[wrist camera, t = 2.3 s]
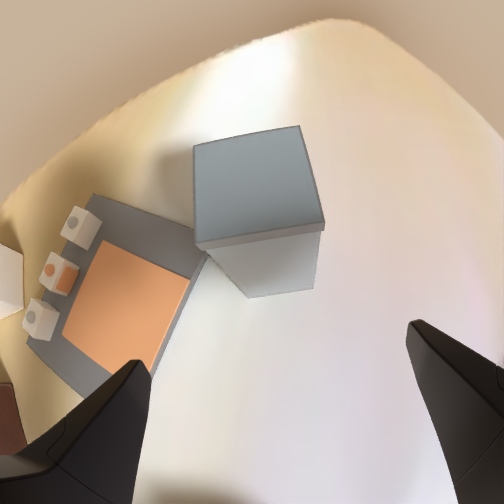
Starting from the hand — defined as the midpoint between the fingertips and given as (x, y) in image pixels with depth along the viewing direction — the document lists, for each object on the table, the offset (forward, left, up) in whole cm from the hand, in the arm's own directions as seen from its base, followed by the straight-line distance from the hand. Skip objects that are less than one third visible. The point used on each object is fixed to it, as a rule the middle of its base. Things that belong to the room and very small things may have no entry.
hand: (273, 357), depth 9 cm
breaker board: (-3, +17, -13) cm, 21 cm away
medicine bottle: (-9, +33, -13) cm, 36 cm away
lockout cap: (+6, +4, -13) cm, 15 cm away
